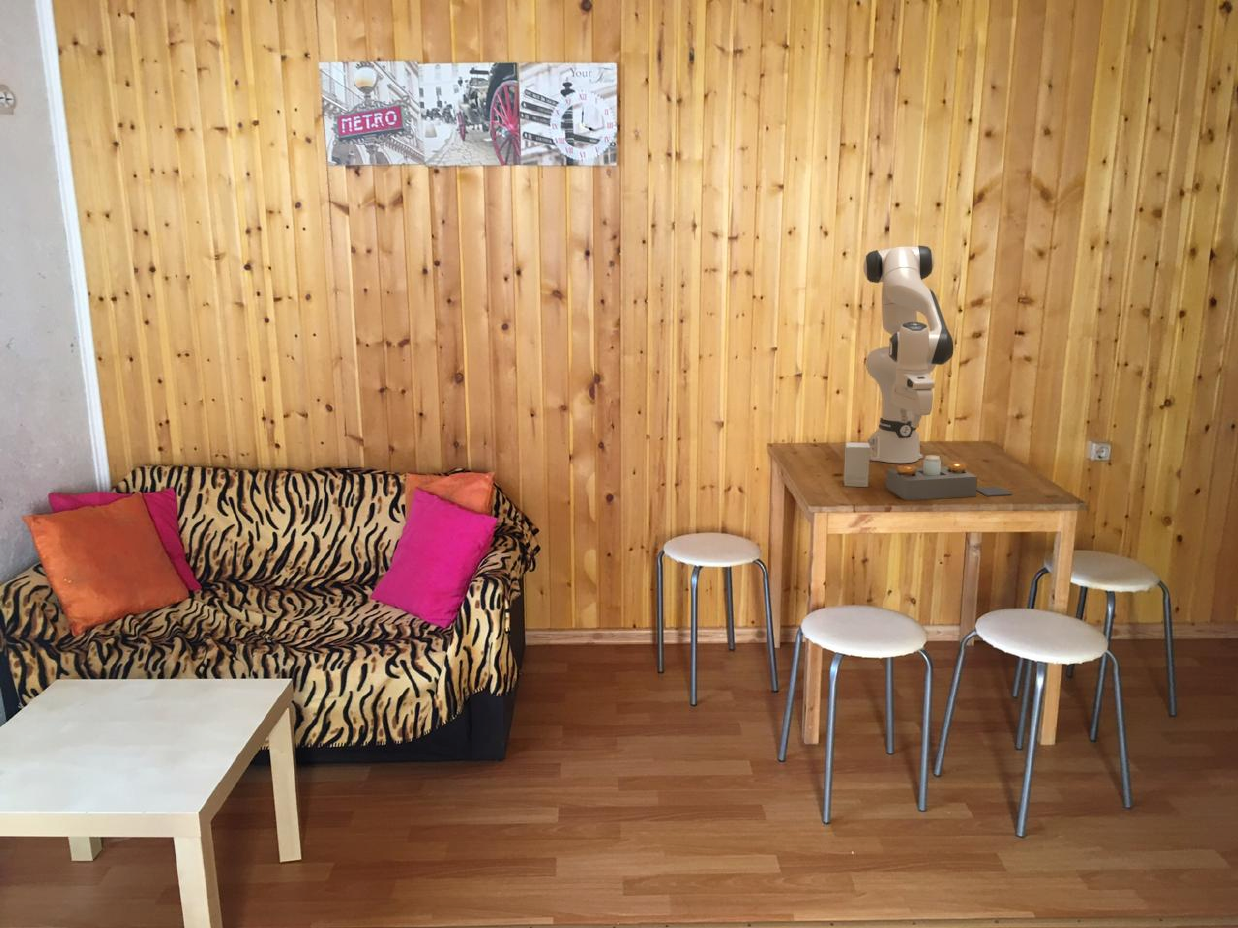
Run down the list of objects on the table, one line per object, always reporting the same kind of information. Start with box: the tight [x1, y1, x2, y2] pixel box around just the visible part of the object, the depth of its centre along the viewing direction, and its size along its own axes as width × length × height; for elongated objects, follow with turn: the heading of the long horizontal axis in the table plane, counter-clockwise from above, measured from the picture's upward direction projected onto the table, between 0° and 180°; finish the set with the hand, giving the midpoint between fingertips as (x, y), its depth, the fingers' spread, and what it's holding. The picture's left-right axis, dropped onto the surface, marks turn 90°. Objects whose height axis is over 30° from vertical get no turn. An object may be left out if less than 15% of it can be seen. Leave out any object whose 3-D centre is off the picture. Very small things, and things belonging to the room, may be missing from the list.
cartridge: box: [922, 454, 942, 476], centre depth 304 cm, size 5×5×11 cm
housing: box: [885, 465, 978, 501], centre depth 305 cm, size 14×22×6 cm, turn 99°
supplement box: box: [843, 441, 870, 488], centre depth 314 cm, size 7×7×13 cm
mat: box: [976, 486, 1013, 497], centre depth 304 cm, size 8×8×1 cm
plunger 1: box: [897, 463, 917, 477], centre depth 303 cm, size 5×5×8 cm
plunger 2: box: [947, 460, 967, 474], centre depth 305 cm, size 5×5×8 cm
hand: (909, 424), depth 299 cm, fingers open, 6 cm apart
